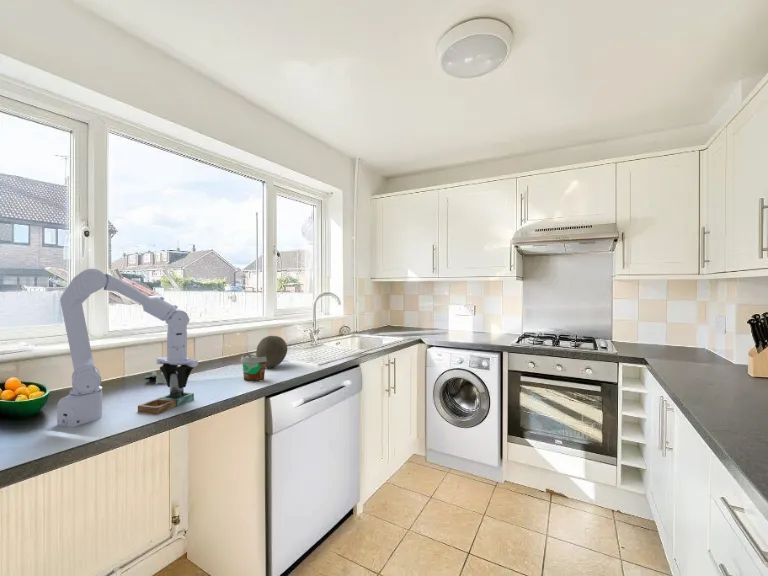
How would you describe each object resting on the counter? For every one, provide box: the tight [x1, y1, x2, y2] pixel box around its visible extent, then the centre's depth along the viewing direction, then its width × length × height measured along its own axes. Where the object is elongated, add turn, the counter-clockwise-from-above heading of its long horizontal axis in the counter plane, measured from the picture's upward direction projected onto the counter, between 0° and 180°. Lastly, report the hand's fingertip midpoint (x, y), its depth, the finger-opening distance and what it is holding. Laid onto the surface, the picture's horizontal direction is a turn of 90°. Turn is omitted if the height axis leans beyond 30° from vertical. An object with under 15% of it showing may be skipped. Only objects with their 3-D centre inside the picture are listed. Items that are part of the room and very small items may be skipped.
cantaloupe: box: [255, 335, 288, 369], centre depth 172 cm, size 14×14×15 cm
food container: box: [240, 353, 267, 382], centre depth 149 cm, size 12×6×10 cm, turn 62°
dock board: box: [136, 392, 195, 416], centre depth 114 cm, size 16×7×3 cm, turn 166°
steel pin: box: [169, 371, 185, 399], centre depth 118 cm, size 4×4×8 cm
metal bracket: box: [144, 370, 167, 385], centre depth 148 cm, size 14×6×15 cm
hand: (176, 386), depth 118 cm, fingers closed on steel pin, 4 cm apart
